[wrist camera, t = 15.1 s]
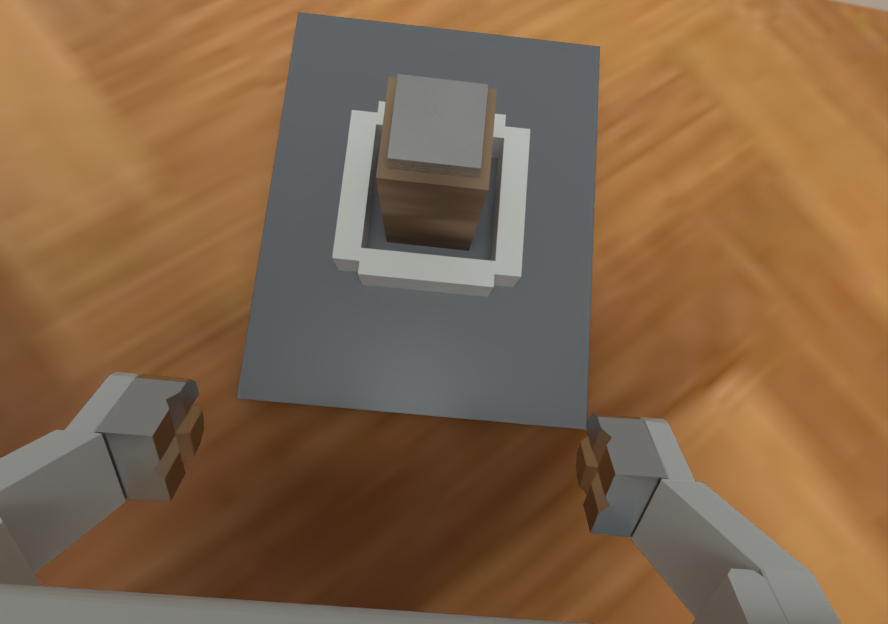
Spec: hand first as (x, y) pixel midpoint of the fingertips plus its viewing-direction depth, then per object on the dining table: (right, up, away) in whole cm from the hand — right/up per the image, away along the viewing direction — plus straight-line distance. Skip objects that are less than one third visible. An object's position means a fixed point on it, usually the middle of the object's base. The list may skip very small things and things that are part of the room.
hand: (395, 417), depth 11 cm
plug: (0, +7, +15) cm, 17 cm away
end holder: (0, +7, +16) cm, 18 cm away
